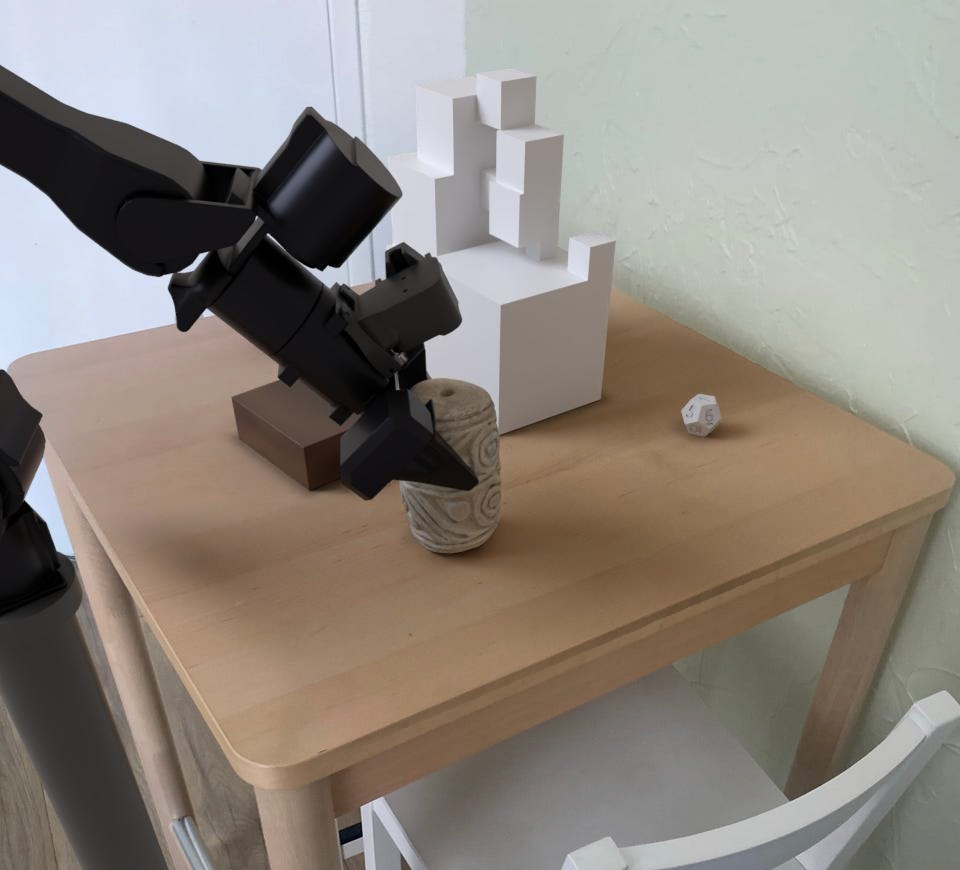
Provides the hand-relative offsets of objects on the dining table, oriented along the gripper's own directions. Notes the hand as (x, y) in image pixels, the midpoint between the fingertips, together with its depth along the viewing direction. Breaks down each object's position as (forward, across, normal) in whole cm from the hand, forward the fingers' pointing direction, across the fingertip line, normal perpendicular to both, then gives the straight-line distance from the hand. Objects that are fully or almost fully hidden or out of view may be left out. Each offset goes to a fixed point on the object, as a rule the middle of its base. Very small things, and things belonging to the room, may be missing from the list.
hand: (469, 462), depth 68 cm
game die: (+20, +14, -11) cm, 27 cm away
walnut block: (-3, +15, +12) cm, 20 cm away
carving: (+4, 0, +6) cm, 7 cm away
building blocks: (+8, +27, +2) cm, 28 cm away
